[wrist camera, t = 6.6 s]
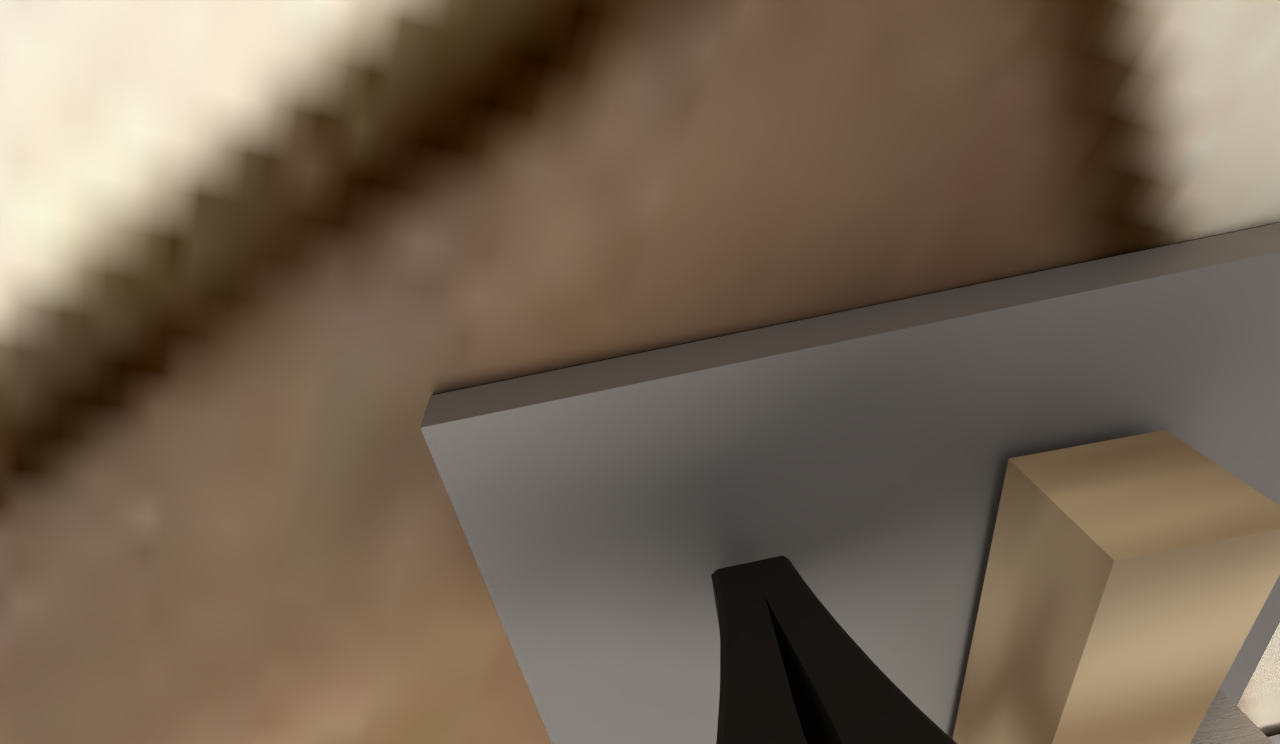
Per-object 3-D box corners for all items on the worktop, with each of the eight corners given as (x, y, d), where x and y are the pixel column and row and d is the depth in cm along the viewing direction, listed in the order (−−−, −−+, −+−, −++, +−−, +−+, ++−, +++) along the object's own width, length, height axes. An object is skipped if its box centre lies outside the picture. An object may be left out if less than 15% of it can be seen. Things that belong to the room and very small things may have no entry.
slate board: (1422, 193, 11) (1494, 208, 10) (1168, 750, 20) (1195, 783, 19) (431, 395, 11) (420, 428, 10) (618, 871, 20) (621, 910, 19)
